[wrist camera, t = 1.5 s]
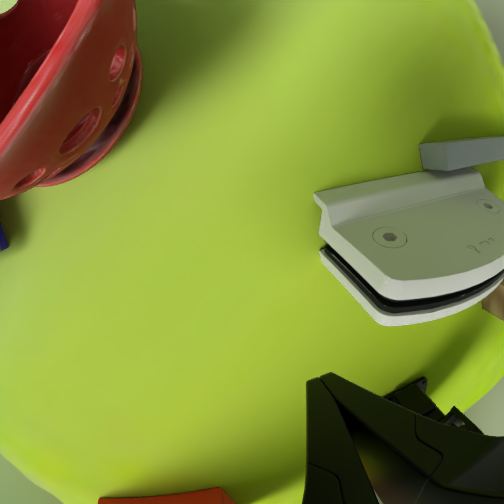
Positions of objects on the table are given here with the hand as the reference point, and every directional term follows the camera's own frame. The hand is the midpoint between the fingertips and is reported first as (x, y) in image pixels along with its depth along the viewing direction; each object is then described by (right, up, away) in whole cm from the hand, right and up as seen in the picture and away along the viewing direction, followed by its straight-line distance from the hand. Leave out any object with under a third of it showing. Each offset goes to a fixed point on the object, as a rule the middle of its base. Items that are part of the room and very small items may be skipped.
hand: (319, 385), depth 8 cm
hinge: (+10, +6, +13) cm, 18 cm away
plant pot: (-14, +15, +6) cm, 21 cm away
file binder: (-13, -29, +18) cm, 36 cm away
